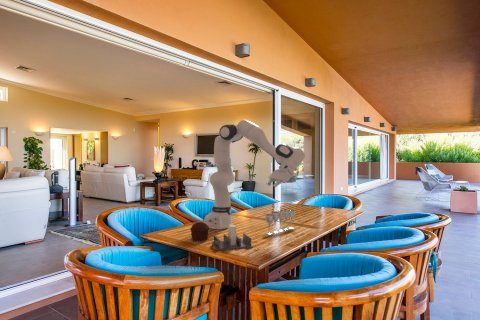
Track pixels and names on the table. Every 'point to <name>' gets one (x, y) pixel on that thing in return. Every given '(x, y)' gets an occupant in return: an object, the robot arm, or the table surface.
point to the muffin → (199, 231)
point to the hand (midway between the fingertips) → (271, 185)
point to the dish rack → (227, 245)
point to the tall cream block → (232, 234)
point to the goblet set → (279, 214)
